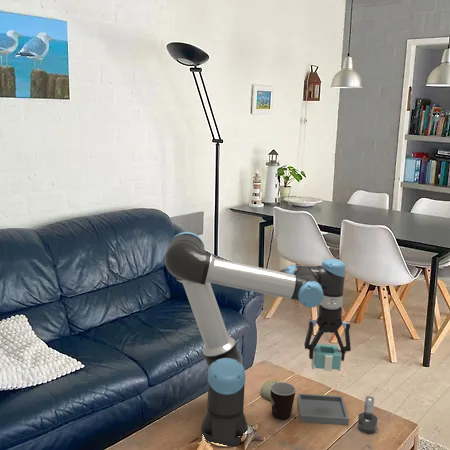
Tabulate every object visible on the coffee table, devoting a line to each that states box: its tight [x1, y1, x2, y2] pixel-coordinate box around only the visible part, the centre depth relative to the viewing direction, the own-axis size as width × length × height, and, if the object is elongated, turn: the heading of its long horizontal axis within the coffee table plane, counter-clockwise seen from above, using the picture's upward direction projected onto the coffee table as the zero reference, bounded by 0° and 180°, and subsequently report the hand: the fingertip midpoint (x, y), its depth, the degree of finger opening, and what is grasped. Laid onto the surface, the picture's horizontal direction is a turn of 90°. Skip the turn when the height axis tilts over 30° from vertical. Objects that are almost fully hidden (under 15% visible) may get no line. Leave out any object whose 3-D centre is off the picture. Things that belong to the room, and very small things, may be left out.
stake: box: [357, 395, 378, 435], centre depth 175 cm, size 6×6×11 cm
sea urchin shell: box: [260, 380, 279, 401], centre depth 194 cm, size 9×8×8 cm
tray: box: [297, 393, 350, 426], centre depth 185 cm, size 16×14×2 cm
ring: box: [314, 343, 341, 372], centre depth 180 cm, size 9×8×5 cm
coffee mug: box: [270, 381, 297, 421], centre depth 183 cm, size 12×9×10 cm
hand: (325, 368), depth 181 cm, fingers closed on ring, 8 cm apart
